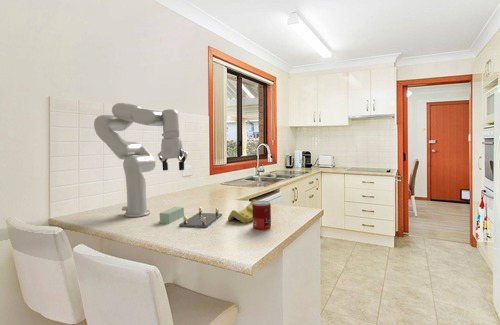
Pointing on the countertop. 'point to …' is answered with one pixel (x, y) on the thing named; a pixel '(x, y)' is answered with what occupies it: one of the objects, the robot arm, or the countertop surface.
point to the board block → (171, 215)
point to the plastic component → (243, 214)
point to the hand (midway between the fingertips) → (173, 170)
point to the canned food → (261, 215)
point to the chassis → (200, 219)
